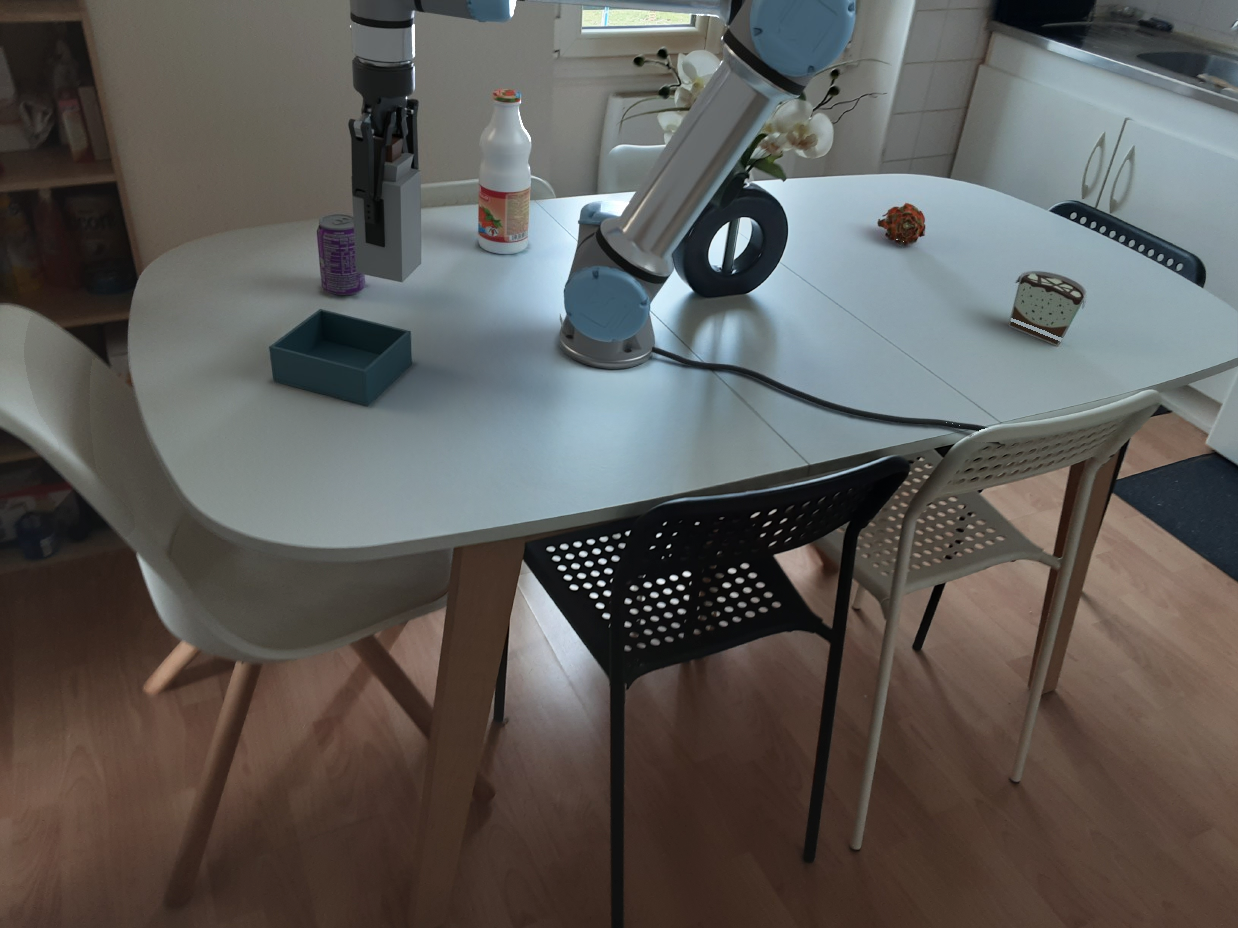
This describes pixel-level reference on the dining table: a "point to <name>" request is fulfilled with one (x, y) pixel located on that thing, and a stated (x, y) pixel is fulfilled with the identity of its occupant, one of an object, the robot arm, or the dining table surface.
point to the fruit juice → (504, 178)
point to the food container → (1046, 303)
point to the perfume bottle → (393, 220)
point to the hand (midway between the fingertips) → (388, 235)
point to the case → (341, 356)
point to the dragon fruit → (903, 224)
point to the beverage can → (338, 255)
